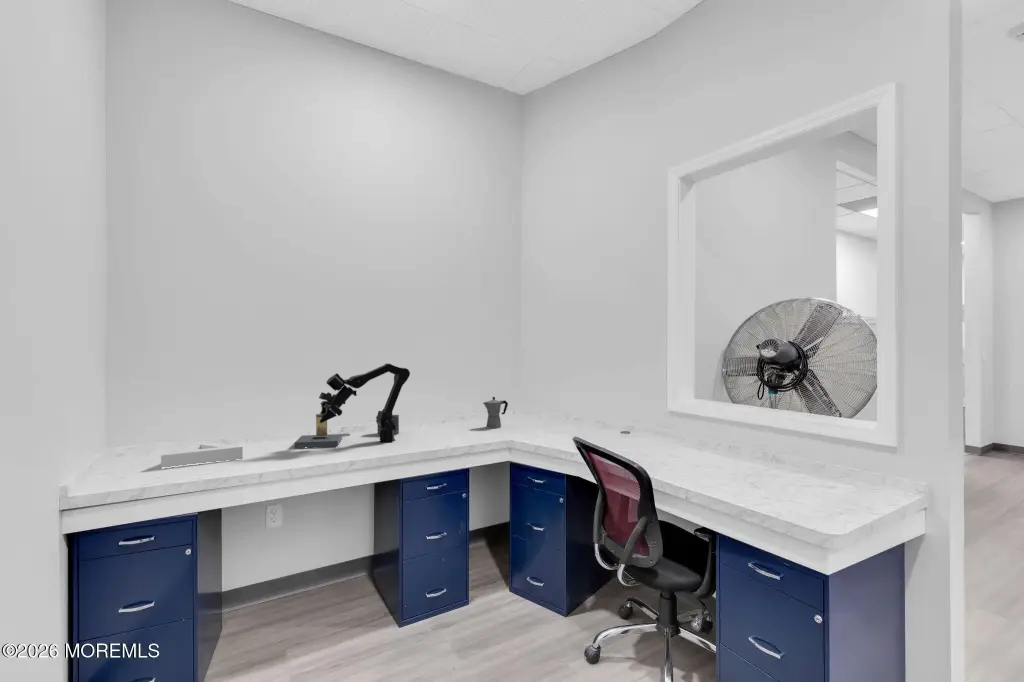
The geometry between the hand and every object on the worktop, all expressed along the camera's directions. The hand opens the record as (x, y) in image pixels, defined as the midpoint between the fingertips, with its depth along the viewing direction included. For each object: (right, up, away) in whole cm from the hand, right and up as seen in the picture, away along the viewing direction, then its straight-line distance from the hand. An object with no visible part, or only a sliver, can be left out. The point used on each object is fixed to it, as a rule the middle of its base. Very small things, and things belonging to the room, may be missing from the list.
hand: (318, 421), depth 254 cm
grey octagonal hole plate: (-4, -13, +13) cm, 19 cm away
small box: (+24, -13, +40) cm, 48 cm away
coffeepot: (+83, -13, +61) cm, 104 cm away
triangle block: (-39, -15, -21) cm, 47 cm away
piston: (+1, -7, +1) cm, 7 cm away
